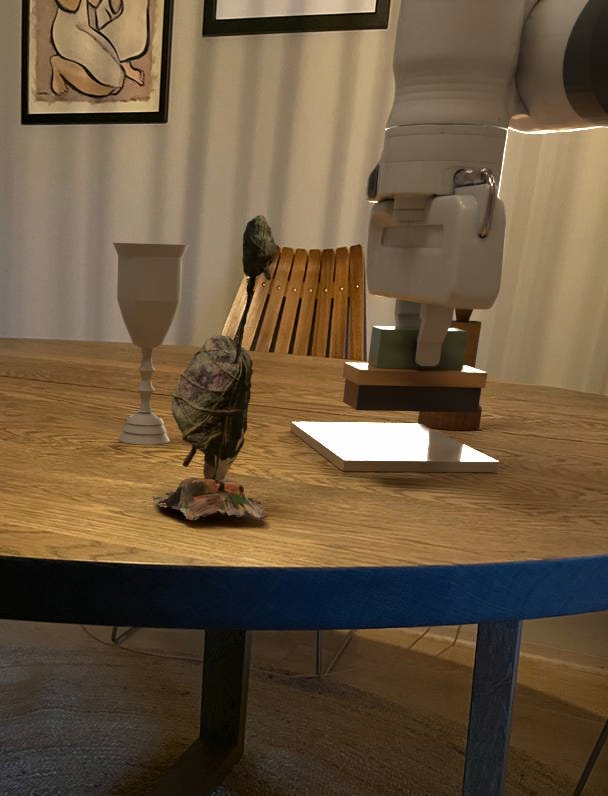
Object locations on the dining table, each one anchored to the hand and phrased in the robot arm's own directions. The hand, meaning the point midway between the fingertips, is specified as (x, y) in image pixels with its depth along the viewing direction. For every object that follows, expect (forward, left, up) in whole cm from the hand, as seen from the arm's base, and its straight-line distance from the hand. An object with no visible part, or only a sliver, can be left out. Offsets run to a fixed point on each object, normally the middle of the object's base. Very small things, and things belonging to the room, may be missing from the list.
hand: (416, 362), depth 83 cm
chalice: (+20, -18, -10) cm, 29 cm away
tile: (-3, -14, -10) cm, 17 cm away
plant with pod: (+18, +10, -10) cm, 23 cm away
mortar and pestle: (-15, -29, -10) cm, 34 cm away
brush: (0, 0, -4) cm, 4 cm away
